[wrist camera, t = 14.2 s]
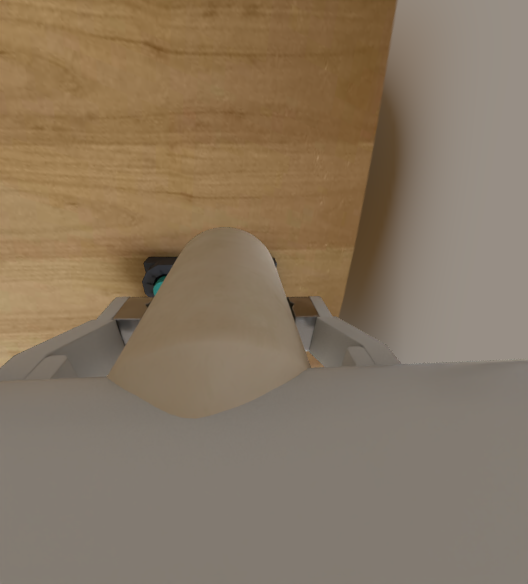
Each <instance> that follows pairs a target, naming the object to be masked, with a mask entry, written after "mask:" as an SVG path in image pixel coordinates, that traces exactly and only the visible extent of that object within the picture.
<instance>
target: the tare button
mask: <svg viewBox="0 0 528 584" xmlns="http://www.w3.org/2000/svg"><path fill="white" fill-rule="evenodd" d="M166 276H167V275H166ZM166 276H162V277H161V278H159V280H158V281H157V282H156V284H155V286H154V288H153V293H154V296H155V295H156V293H157V292H158V290H159V288H160V286H161V285H162V283H163V281H164V280H165V278H166Z"/></svg>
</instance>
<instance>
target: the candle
mask: <svg viewBox="0 0 528 584" xmlns="http://www.w3.org/2000/svg"><path fill="white" fill-rule="evenodd" d="M307 368H311V366H310V363H309V361H308V358H307V355H306V352H305V349H304V346H303V343H302V341H301V338H300V335H299V332H298V329H297V326H296V324H295V321H294V318H293V315H292V312H291V309H290V306H289V304H288V301H287V298H286V295H285V292H284V289H283V287H282V284H281V281H280V278H279V275H278V272H277V269H276V267H275V264H274V261H273V259H272V256H271V255H270V253H269V251H268V250H267V248H266V247H265V246H264V245H263V244H262V243H261V241H260V240H258V239H257V238H256V237H254V236H253V235H251V234H250V233H248V232H245V231H243V230H240V229H236V228H230V227H220V228H214V229H210V230H207V231H204V232H202V233H200V234H199V235H197V236H195V237H194V238H193V239H192V240H190V241H189V242H188V244H187V245H186V246H185V247H184V249H183V250H182V252H181V253H180V255H179V256H178V258H177V259H176V261H175V263H174V265H173V266H172V268H171V270H170V271H169V273H168V275H167V276H166V278H165V280H164V281H163V283H162V285H161V286H160V288H159V290H158V292H157V293H156V295H155V297H154V298H153V300H152V302H151V303H150V305H149V307H148V308H147V310H146V312H145V313H144V315H143V317H142V318H141V320H140V322H139V324H138V325H137V327H136V329H135V330H134V332H133V334H132V335H131V337H130V339H129V340H128V342H127V344H126V345H125V347H124V349H123V350H122V352H121V354H120V356H119V357H118V359H117V361H116V362H115V364H114V366H113V367H112V369H111V371H110V372H109V374H108V377H107V378H108V379H110V380H111V381H112V382H114V383H115V384H117V385H118V386H120V387H121V388H123V389H124V390H126V391H128V392H130V393H132V394H134V395H136V396H138V397H139V398H141V399H143V400H144V401H146V402H148V403H150V404H151V405H153V406H154V407H156V408H159V409H161V410H163V411H165V412H167V413H168V414H171V415H175V416H178V417H181V418H195V419H196V418H202V417H206V416H211V415H214V414H217V413H220V412H223V411H226V410H229V409H232V408H235V407H238V406H240V405H243V404H245V403H248V402H250V401H252V400H254V399H256V398H258V397H260V396H262V395H264V394H266V393H268V392H270V391H271V390H273V389H275V388H277V387H279V386H281V385H283V384H285V383H287V382H288V381H290V380H292V379H293V378H295V377H296V376H298V375H299V374H301V373H302V372H303V371H305V370H307Z"/></svg>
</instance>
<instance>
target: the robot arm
mask: <svg viewBox="0 0 528 584" xmlns="http://www.w3.org/2000/svg"><path fill="white" fill-rule="evenodd" d="M153 298H154V297H116V298H115V299H114V300H113V301H112V302H111V303H110V304H109V306H108V307H107V308H106V309H105V310H104V311H103V312H102V314H101V315H100V316H99V317H98V318H97V319H96V320H90V321H88V322H86V323H84V324H82V325H80V326H77V327H75V328H73V329H71V330H69V331H67V332H64V333H62V334H60V335H58V336H56V337H53V338H51V339H49V340H47V341H45V342H43V343H40V344H38V345H36V346H34V347H32V348H30V349H27V350H25V351H23V352H21V353H19V354H17V355H14V356H13V357H12V358H11V359H10V360H9V361H8V362H6V363H5V364H4V365H3V366H2V367H1V368H0V584H528V359H513V360H512V359H511V360H490V361H467V362H442V363H419V364H401V363H400V361H399V360H398V359H397V358H396V356H395V355H394V354H393V353H392V351H391V350H390V349H389V348H388V346H387V345H386V344H384V343H382V342H380V341H379V340H377V339H375V338H373V337H371V336H370V335H368V334H366V333H364V332H363V331H361V330H359V329H357V328H355V327H353V326H352V325H350V324H348V323H346V322H345V321H343V320H341V319H339V318H337V317H333V316H332V315H331V313H330V312H329V310H328V308H327V307H326V305H325V303H324V302H323V300H322V299H321V297H320V296H309V297H287V301H288V304H289V306H290V309H291V312H292V315H293V318H294V321H295V324H296V326H297V329H298V332H299V335H300V338H301V341H302V343H303V346H304V349H305V351H309V352H310V353H311V354H312V355H313V356H314V357H315V358H316V359H317V360H318V361H319V362H320V363H321V364H322V365H323V366H325V367H322V368H307V370H305V371H303V372H302V373H301V374H299V375H298V376H296V377H295V378H293V379H292V380H290V381H288V382H287V383H285V384H283V385H281V386H279V387H277V388H275V389H273V390H271V391H270V392H268V393H266V394H264V395H262V396H260V397H258V398H256V399H254V400H252V401H250V402H248V403H245V404H243V405H240V406H238V407H235V408H232V409H229V410H226V411H223V412H220V413H217V414H214V415H211V416H206V417H202V418H196V419H195V418H181V417H178V416H175V415H171V414H168V413H167V412H165V411H163V410H161V409H159V408H156V407H154V406H153V405H151V404H150V403H148V402H146V401H144V400H143V399H141V398H139V397H138V396H136V395H134V394H132V393H130V392H128V391H126V390H124V389H123V388H121V387H120V386H118V385H117V384H115V383H114V382H112V381H111V380H110V379H108V378H107V377H108V376H107V375H108V374H109V372H110V371H111V369H112V367H113V366H114V364H115V362H116V361H117V359H118V357H119V356H120V354H121V352H122V350H123V349H124V347H125V345H126V344H127V342H128V340H129V339H130V337H131V335H132V334H133V332H134V330H135V329H136V327H137V325H138V324H139V322H140V320H141V318H142V317H143V315H144V313H145V312H146V310H147V308H148V307H149V305H150V303H151V302H152V300H153ZM106 376H107V377H106Z"/></svg>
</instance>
